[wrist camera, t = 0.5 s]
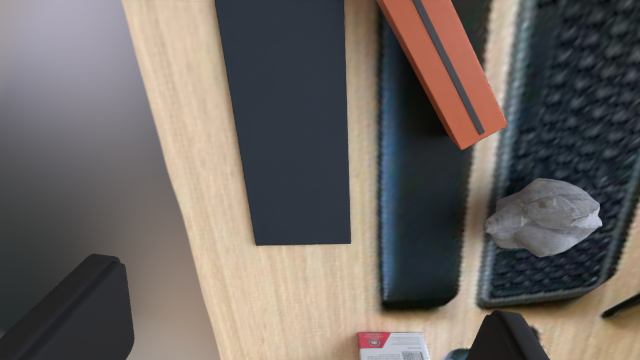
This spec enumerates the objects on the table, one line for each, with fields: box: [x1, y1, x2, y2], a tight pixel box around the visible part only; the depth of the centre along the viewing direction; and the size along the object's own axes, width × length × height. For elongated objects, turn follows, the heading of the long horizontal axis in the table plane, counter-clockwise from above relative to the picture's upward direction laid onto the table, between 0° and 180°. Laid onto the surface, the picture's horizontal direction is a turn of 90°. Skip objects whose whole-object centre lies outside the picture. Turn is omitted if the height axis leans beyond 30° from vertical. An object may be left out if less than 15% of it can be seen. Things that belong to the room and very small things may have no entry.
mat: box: [215, 0, 351, 246], centre depth 35 cm, size 26×11×1 cm, turn 3°
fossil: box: [483, 178, 602, 257], centre depth 33 cm, size 11×9×8 cm
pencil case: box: [376, 0, 508, 150], centre depth 29 cm, size 19×4×4 cm, turn 34°
